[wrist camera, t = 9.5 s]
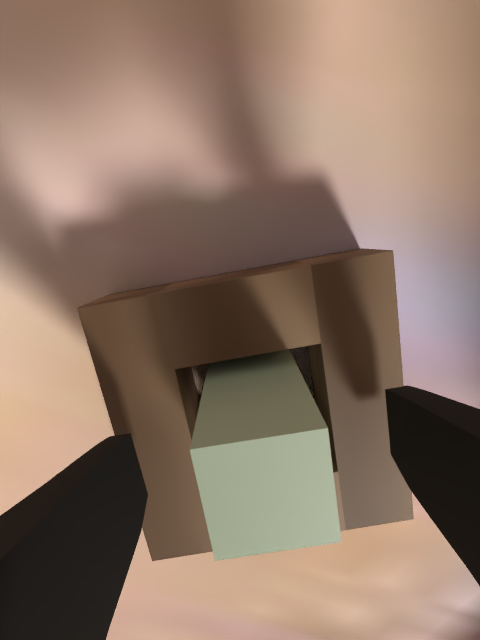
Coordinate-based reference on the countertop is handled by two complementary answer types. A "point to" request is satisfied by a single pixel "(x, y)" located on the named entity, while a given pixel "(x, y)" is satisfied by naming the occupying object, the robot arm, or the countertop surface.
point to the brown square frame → (247, 340)
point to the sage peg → (263, 459)
